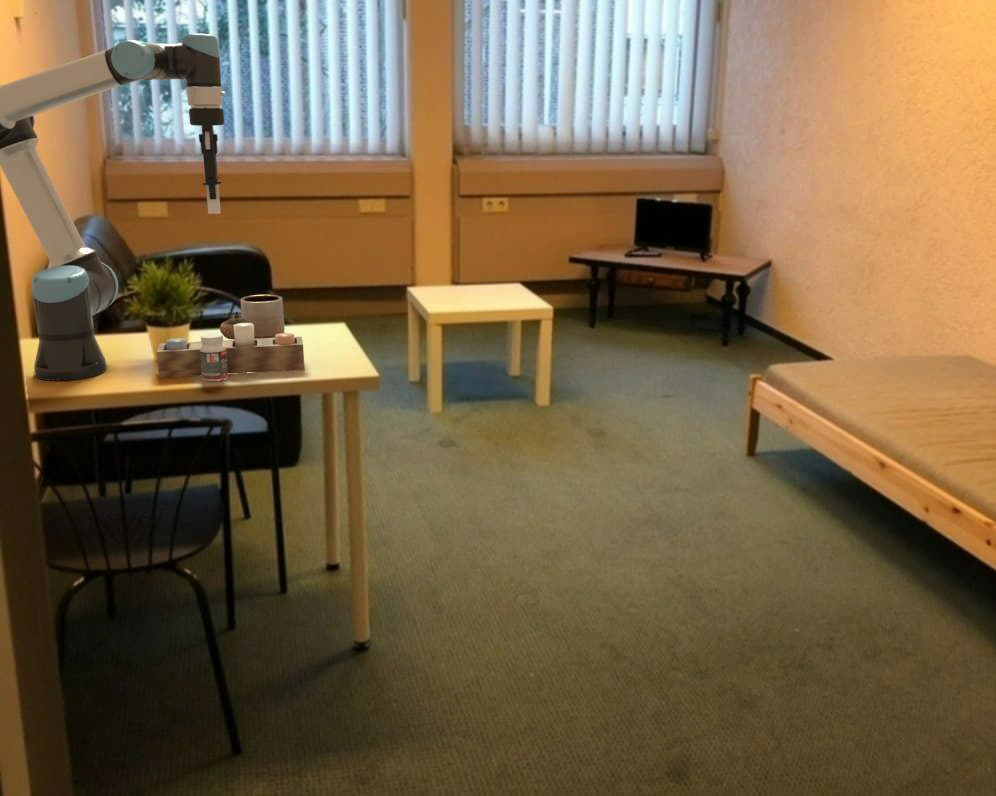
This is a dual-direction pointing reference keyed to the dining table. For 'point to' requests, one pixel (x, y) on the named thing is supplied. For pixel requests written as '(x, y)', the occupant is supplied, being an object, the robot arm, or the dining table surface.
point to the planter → (264, 314)
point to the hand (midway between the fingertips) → (214, 213)
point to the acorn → (231, 326)
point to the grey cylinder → (176, 344)
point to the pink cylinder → (284, 338)
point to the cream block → (244, 334)
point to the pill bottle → (213, 357)
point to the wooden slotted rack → (233, 358)
